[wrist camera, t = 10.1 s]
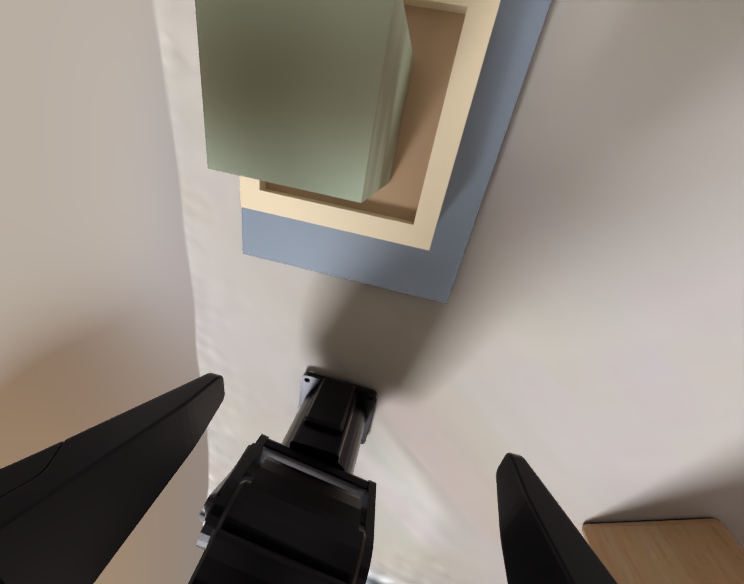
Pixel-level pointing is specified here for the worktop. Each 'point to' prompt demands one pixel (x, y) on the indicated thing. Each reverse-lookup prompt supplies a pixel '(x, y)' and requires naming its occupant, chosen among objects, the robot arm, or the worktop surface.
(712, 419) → the worktop surface
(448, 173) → the build base
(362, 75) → the sage block
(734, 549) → the wooden block
